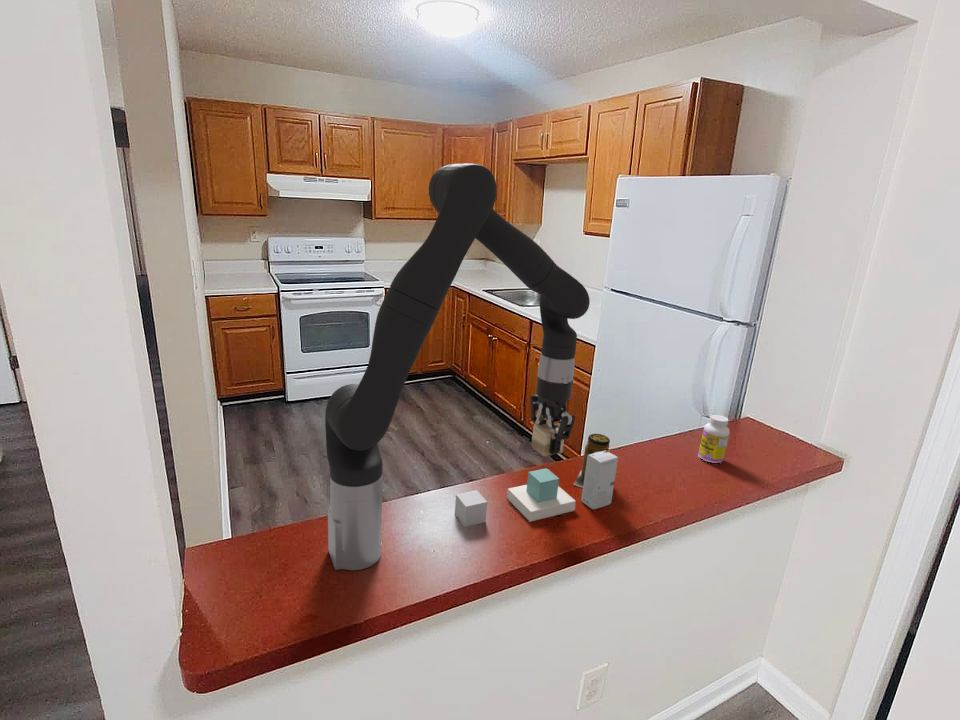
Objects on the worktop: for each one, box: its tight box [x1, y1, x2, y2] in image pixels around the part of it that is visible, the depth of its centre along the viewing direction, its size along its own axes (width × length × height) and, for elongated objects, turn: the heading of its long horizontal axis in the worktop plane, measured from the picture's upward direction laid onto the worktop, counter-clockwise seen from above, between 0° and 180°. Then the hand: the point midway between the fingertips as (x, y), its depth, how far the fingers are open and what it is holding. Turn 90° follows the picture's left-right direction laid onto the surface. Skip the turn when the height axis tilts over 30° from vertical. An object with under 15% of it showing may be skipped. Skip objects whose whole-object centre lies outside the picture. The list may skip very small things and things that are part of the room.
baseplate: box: [506, 484, 577, 523], centre depth 121 cm, size 12×10×2 cm
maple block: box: [530, 423, 565, 457], centre depth 116 cm, size 5×5×5 cm
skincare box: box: [580, 450, 619, 510], centre depth 122 cm, size 6×4×12 cm
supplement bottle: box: [697, 414, 731, 463], centre depth 148 cm, size 7×7×13 cm
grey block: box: [454, 489, 488, 528], centre depth 113 cm, size 5×5×5 cm
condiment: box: [573, 433, 611, 489], centre depth 131 cm, size 7×8×12 cm
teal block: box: [526, 468, 560, 503], centre depth 120 cm, size 5×5×5 cm
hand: (546, 447), depth 117 cm, fingers closed on maple block, 5 cm apart
